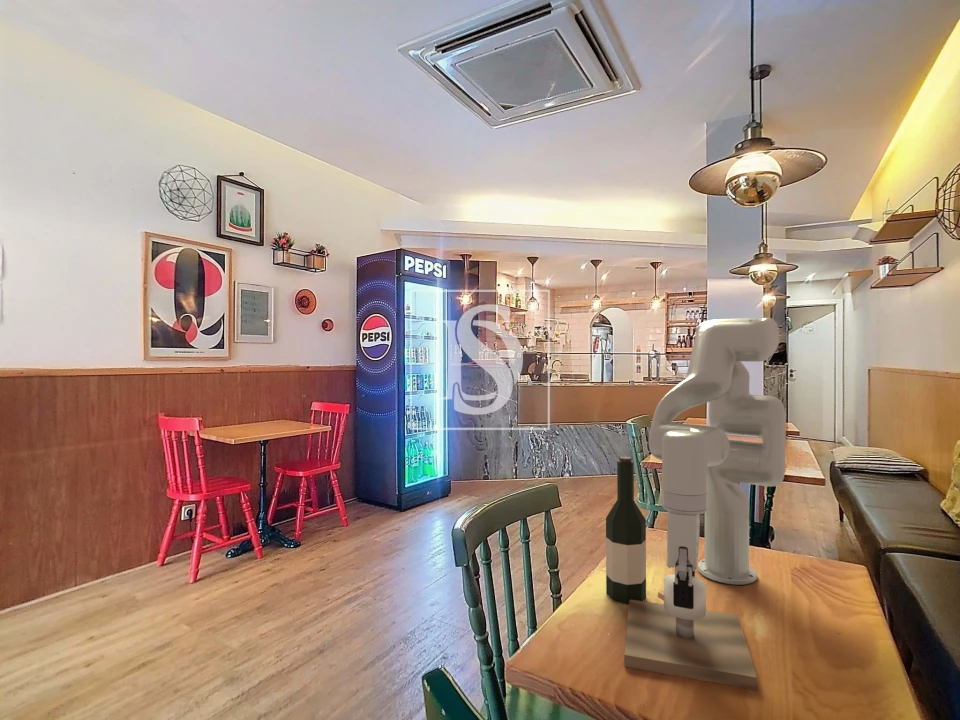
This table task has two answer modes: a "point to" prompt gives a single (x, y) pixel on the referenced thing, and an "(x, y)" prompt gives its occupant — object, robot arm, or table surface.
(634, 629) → the post board
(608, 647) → the table surface
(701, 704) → the table surface
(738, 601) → the table surface
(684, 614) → the light bulb
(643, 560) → the wine bottle
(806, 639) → the table surface
